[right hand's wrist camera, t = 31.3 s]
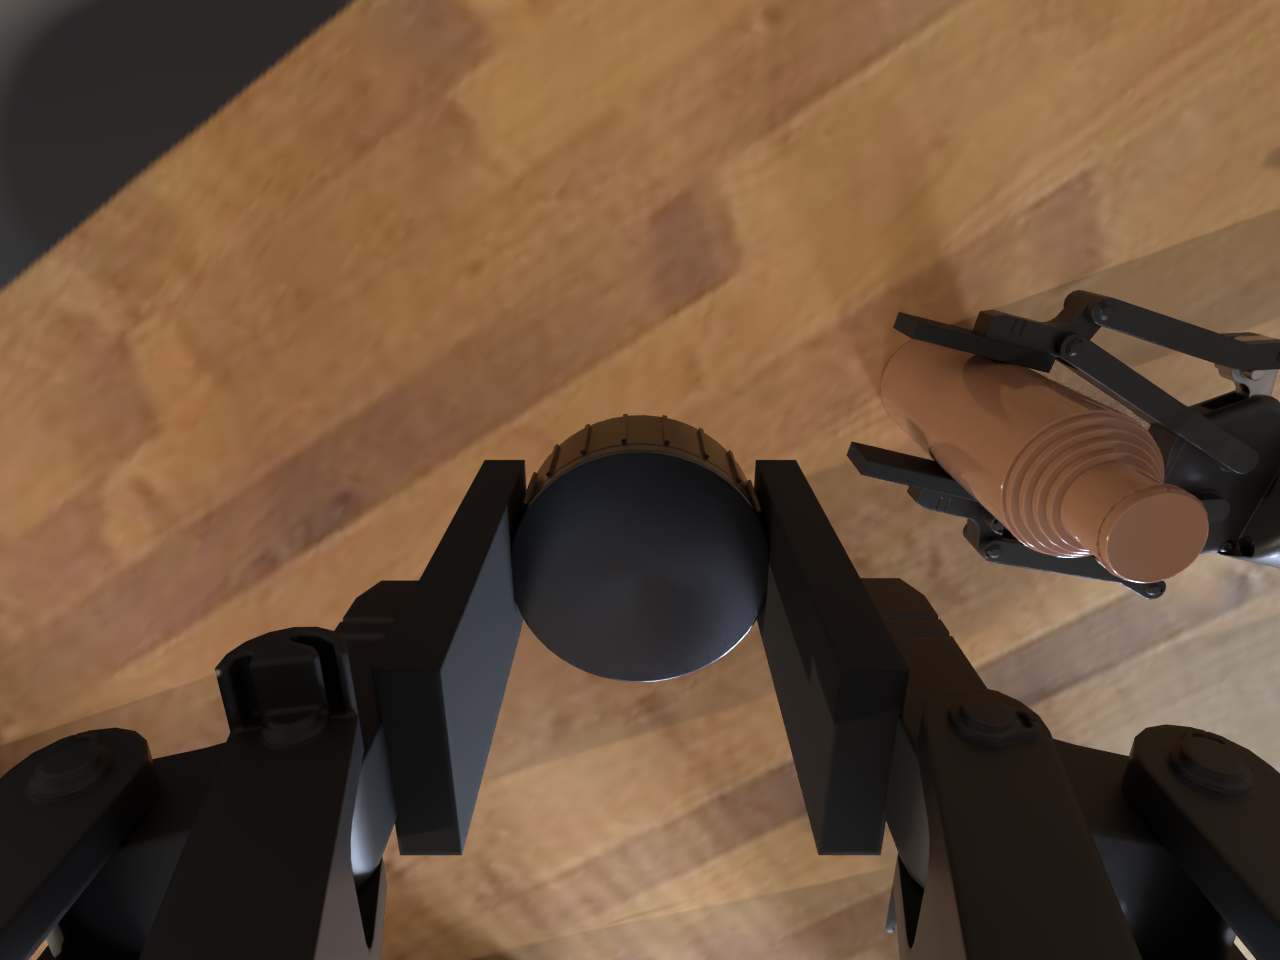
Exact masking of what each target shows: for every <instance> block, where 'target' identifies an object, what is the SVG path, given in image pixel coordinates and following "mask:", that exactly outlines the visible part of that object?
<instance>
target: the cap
mask: <svg viewBox="0 0 1280 960" xmlns="http://www.w3.org/2000/svg"><path fill="white" fill-rule="evenodd" d="M521 506H523V510H522V513H521V516H520V519H519V522H518V524H517V527H516V530H515V533H514V536H513V539H512V544H511V565H512V579H513V592H514V599H515V601H516V604H517V606H518V609H519V611H520V613H521V615H522V617H523V618H524V620H525V622H526V623H527V625H528V627H529V628H530V629H531V630H532V632H533V633H534V634H535V636H536V637H537V638H538V639H539V640H540V641H541V642H542V643H543V644H544V645H545V646H546V647H547V648H548V649H549V650H551V651H552V652H553V653H554V654H556V655H557V656H558V657H560V658H561V659H563V660H564V661H566V662H568V663H570V664H571V665H573V666H575V667H577V668H579V669H581V670H584V671H586V672H588V673H591V674H594V675H597V676H601V677H604V678H609V679H614V680H619V681H630V682H653V681H660V680H668V679H672V678H676V677H680V676H684V675H686V674H689V673H692V672H694V671H697V670H699V669H701V668H703V667H705V666H707V665H709V664H711V663H713V662H714V661H716V660H718V659H719V658H721V657H722V656H724V655H725V654H726V653H727V652H729V651H730V650H731V649H732V648H733V647H734V646H736V645H737V644H738V643H739V642H740V640H741V639H742V638H743V637H744V636H745V635H746V634H747V633H748V631H749V630H750V628H751V627H752V625H753V624H754V623H755V621H756V619H757V618H758V616H759V614H760V612H761V610H762V608H763V605H764V603H765V600H766V596H767V585H768V571H769V557H770V546H769V542H768V538H767V534H766V531H765V528H764V525H763V522H762V519H761V517H760V515H762V514H763V512H762V509H761V507H760V504H759V501H758V498H757V496H756V493H755V490H754V487H753V485H752V482H751V480H748V481H747V479H746V477H745V475H744V473H743V471H742V470H741V468H740V467H739V465H738V463H737V462H736V461H735V459H734V456H733V453H732V452H731V451H730V450H729V451H727V450H726V449H724V448H723V447H722V446H721V445H720V444H719V443H718V442H717V441H715V440H714V439H713V438H711V437H710V436H708V435H707V434H705V433H704V430H703V429H701V428H699V429H696V428H694V427H692V426H690V425H687V424H685V423H682V422H679V421H676V420H672V419H668V418H667V416H664V415H662V417H657V416H647V415H637V416H628V414H623V417H617V418H612V419H608V420H605V421H601V422H598V423H596V424H593V425H591V426H590V424H587V425H585V428H584V429H582V430H580V431H579V432H577V433H575V434H574V435H572V436H570V437H569V438H568V439H567V440H565V441H564V442H563V443H561V444H560V445H558V444H556V445H555V446H554V449H553V452H552V453H551V454H550V455H549V456H548V457H547V459H546V460H545V462H544V463H543V464H542V466H541V467H540V468H539V470H538V472H537V473H535V472H534V473H533V475H532V477H531V480H530V483H529V486H528V488H527V491H526V494H525V497H524V499H523V502H522V505H521Z"/></svg>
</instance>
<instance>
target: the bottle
mask: <svg viewBox="0 0 1280 960" xmlns="http://www.w3.org/2000/svg"><path fill="white" fill-rule="evenodd" d="M881 398H882V403H883V406H884V409H885V410H886V412H887V414H888V416H889V417H890V418H891V419H892V421H893V422H894V423H895V424H897V425H898V426H899V427H900V428H901V429H902V430H903V431H904V432H905V433H906V434H907V435H908V436H909V437H910V438H911V439H912V440H913V441H914V442H915V443H917V444H918V445H919V446H920V447H921V448H922V449H923V450H924V451H925V452H926V453H927V454H928V455H929V456H930V457H931V458H932V459H933V460H934V461H936V462H937V463H938V464H939V465H940V466H941V467H942V468H943V469H944V470H945V471H946V472H947V473H948V474H949V475H950V476H951V477H952V478H953V479H954V480H956V481H957V482H958V483H959V484H960V485H961V486H962V487H963V488H964V489H965V490H966V491H967V492H968V493H969V494H970V495H971V496H972V497H973V498H974V499H976V500H977V501H978V502H979V503H980V504H981V505H982V506H983V507H984V508H985V509H986V510H987V511H988V512H989V513H990V514H991V515H992V516H993V517H995V518H996V519H997V520H998V521H999V522H1000V523H1001V524H1002V525H1003V526H1004V527H1005V528H1006V529H1007V530H1008V531H1009V532H1010V533H1011V534H1012V535H1013V536H1015V537H1016V538H1017V539H1018V540H1019V541H1020V542H1021V543H1023V544H1024V545H1025V546H1027V547H1029V548H1031V549H1033V550H1035V551H1038V552H1040V553H1044V554H1048V555H1053V556H1057V557H1066V558H1075V557H1084V556H1090V555H1094V556H1095V557H1097V558H1096V559H1095V560H1096V561H1098V562H1099V563H1100V564H1101V565H1102V566H1103V567H1104V568H1106V569H1107V570H1108V571H1109V572H1110V573H1112V574H1113V575H1115V576H1117V577H1120V578H1122V579H1124V580H1129V581H1132V582H1137V583H1152V582H1158V581H1162V580H1165V579H1168V578H1170V577H1173V576H1175V575H1176V574H1178V573H1180V572H1182V571H1183V570H1184V569H1186V568H1187V567H1188V566H1189V565H1190V564H1191V563H1192V562H1193V561H1194V560H1195V559H1196V558H1197V557H1198V555H1199V554H1200V553H1201V551H1202V549H1203V547H1204V545H1205V543H1206V540H1207V537H1208V531H1209V523H1208V516H1207V515H1208V513H1207V511H1206V510H1205V508H1204V506H1203V503H1202V502H1200V501H1199V500H1198V499H1197V498H1196V497H1195V496H1194V495H1192V494H1190V493H1188V492H1186V491H1185V490H1183V489H1181V488H1179V487H1177V486H1175V485H1171V484H1167V483H1165V482H1164V463H1163V458H1162V455H1161V452H1160V450H1159V448H1158V446H1157V444H1156V442H1155V441H1154V439H1153V437H1152V436H1151V434H1150V433H1149V432H1148V431H1147V429H1146V428H1145V427H1144V426H1142V425H1141V424H1140V423H1139V422H1137V421H1136V420H1134V419H1132V418H1131V417H1129V416H1127V415H1125V414H1123V413H1120V412H1118V411H1116V410H1114V409H1112V408H1110V407H1108V406H1106V405H1104V404H1102V403H1100V402H1098V401H1096V400H1094V399H1092V398H1089V397H1087V396H1085V395H1083V394H1081V393H1079V392H1077V391H1075V390H1073V389H1071V388H1069V387H1067V386H1065V385H1063V384H1060V383H1058V382H1056V381H1054V380H1052V379H1050V378H1048V377H1046V376H1044V375H1042V374H1040V373H1038V372H1036V371H1034V370H1032V369H1029V368H1027V367H1023V366H1019V365H1015V364H1011V363H1007V362H1003V361H999V360H995V359H991V358H987V357H983V356H979V355H975V354H971V353H967V352H963V351H959V350H955V349H951V348H947V347H943V346H939V345H935V344H931V343H927V342H923V341H919V340H915V339H912V340H911V341H909V342H908V343H906V344H905V345H903V346H902V347H901V348H900V349H899V350H898V351H897V352H896V353H895V354H894V356H893V357H892V358H891V360H890V361H889V363H888V365H887V367H886V369H885V371H884V374H883V377H882V382H881Z"/></svg>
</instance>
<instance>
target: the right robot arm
mask: <svg viewBox="0 0 1280 960" xmlns="http://www.w3.org/2000/svg"><path fill="white" fill-rule="evenodd" d="M754 490H755V493H756V496H757V498H758V501H759V504H760V507H761V509H762V512H763V514H762V515H760V517H761V519H762V522H763V525H764V528H765V531H766V534H767V538H768V542H769V546H770V557H769V571H768V585H767V596H766V600H765V603H764V605H763V608H762V610H761V612H760V614H759V616H758V618H757V622H758V625H759V629H760V633H761V637H762V641H763V645H764V648H765V652H766V656H767V660H768V664H769V667H770V671H771V675H772V679H773V683H774V687H775V690H776V694H777V698H778V702H779V706H780V710H781V713H782V717H783V721H784V725H785V729H786V732H787V736H788V740H789V744H790V748H791V752H792V755H793V759H794V763H795V767H796V771H797V774H798V778H799V782H800V786H801V790H802V794H803V797H804V801H805V805H806V809H807V813H808V816H809V820H810V824H811V828H812V832H813V836H814V839H815V843H816V847H817V851H818V855H881V848H882V842H883V836H884V829H885V823H886V821H887V824H888V826H889V829H890V832H891V834H892V837H893V839H894V842H895V845H896V847H897V850H898V857H897V863H896V868H895V874H894V880H893V886H892V892H891V898H890V904H889V909H888V915H887V922H886V928H885V931H887V932H892V933H895V929H896V924H897V931H898V942H899V952H900V960H1247V959H1246V958H1245V956H1244V955H1243V954H1242V953H1241V951H1240V950H1239V949H1238V948H1237V946H1236V945H1235V944H1234V940H1235V937H1236V935H1237V936H1238V937H1239V939H1240V940H1241V941H1242V942H1243V944H1244V945H1245V946H1246V947H1247V949H1248V950H1249V951H1250V952H1251V954H1252V955H1253V956H1254V957H1255V959H1256V960H1280V773H1279V772H1277V771H1276V770H1275V769H1274V768H1273V767H1272V766H1270V765H1269V764H1268V763H1266V762H1265V761H1264V760H1262V759H1261V758H1259V757H1258V756H1257V755H1255V754H1254V753H1253V752H1251V751H1250V750H1248V749H1246V748H1244V747H1242V746H1240V745H1238V744H1236V743H1234V742H1232V741H1230V740H1228V739H1226V738H1224V737H1222V736H1219V735H1217V734H1214V733H1211V732H1206V731H1204V730H1200V729H1196V728H1192V727H1184V726H1175V725H1160V726H1155V727H1149V728H1146V729H1144V730H1143V731H1142V732H1141V733H1139V734H1138V735H1137V736H1136V737H1135V739H1134V742H1133V745H1132V749H1131V752H1130V755H1129V756H1125V755H1120V754H1116V753H1111V752H1106V751H1101V750H1097V749H1092V748H1087V747H1083V746H1078V745H1074V744H1070V743H1067V742H1063V741H1059V740H1056V739H1053V738H1052V736H1051V733H1050V731H1049V730H1048V728H1047V727H1046V725H1045V724H1044V722H1043V721H1042V719H1041V718H1040V717H1039V715H1037V714H1036V713H1035V712H1033V711H1032V710H1031V709H1029V708H1028V707H1027V706H1025V705H1024V704H1023V703H1022V702H1020V701H1018V700H1016V699H1013V698H1011V697H1009V696H1007V695H1005V694H1002V693H1000V692H998V691H994V690H990V689H987V687H986V686H985V684H984V683H983V682H982V680H981V679H980V677H979V676H978V674H977V673H976V671H975V670H974V668H973V667H972V665H971V664H970V662H969V661H968V659H967V658H966V656H965V655H964V653H963V652H962V650H961V649H960V647H959V646H958V644H957V643H956V642H955V640H954V639H953V637H952V636H949V631H948V630H947V628H946V627H945V625H944V624H943V622H942V621H941V619H938V615H937V613H936V612H935V610H934V609H933V607H932V606H931V605H930V603H929V602H928V600H927V599H926V597H925V596H924V595H923V594H921V593H920V592H919V591H917V590H916V589H914V588H913V587H911V586H910V585H908V584H907V583H906V582H904V581H903V580H901V579H900V578H860V577H859V575H858V573H857V572H856V570H855V568H854V566H853V564H852V562H851V561H850V559H849V557H848V555H847V553H846V551H845V550H844V548H843V546H842V544H841V542H840V540H839V539H838V537H837V535H836V533H835V531H834V529H833V527H832V526H831V524H830V522H829V520H828V518H827V516H826V515H825V513H824V511H823V509H822V507H821V505H820V504H819V502H818V500H817V498H816V496H815V494H814V493H813V491H812V489H811V487H810V485H809V483H808V482H807V480H806V478H805V476H804V474H803V472H802V471H801V469H800V467H799V465H798V463H797V461H796V460H756V466H755V482H754ZM525 494H526V474H525V460H484V462H483V464H482V466H481V468H480V470H479V472H478V473H477V475H476V477H475V479H474V481H473V483H472V484H471V486H470V488H469V490H468V492H467V494H466V495H465V497H464V499H463V501H462V503H461V505H460V506H459V508H458V510H457V512H456V514H455V516H454V517H453V519H452V521H451V523H450V525H449V527H448V528H447V530H446V532H445V534H444V536H443V538H442V539H441V541H440V543H439V545H438V547H437V549H436V550H435V552H434V554H433V556H432V558H431V560H430V561H429V563H428V565H427V567H426V569H425V571H424V573H423V574H422V576H421V578H420V580H419V581H380V582H379V583H377V584H376V585H374V586H373V587H372V588H370V589H369V590H367V591H366V592H364V593H363V594H361V595H360V596H359V597H357V598H356V599H355V601H354V602H353V604H352V605H351V607H350V608H349V610H348V611H347V613H346V614H345V616H344V617H343V622H340V623H339V625H338V626H337V628H336V629H335V631H331V630H328V629H324V628H320V627H292V628H287V629H283V630H278V631H273V632H269V633H266V634H264V635H261V636H259V637H256V638H254V639H251V640H249V641H246V642H244V643H243V644H241V645H240V646H238V647H237V648H235V649H234V650H232V651H231V652H229V653H228V654H226V656H225V657H224V658H223V659H222V660H221V662H220V663H219V664H218V665H217V667H216V668H215V672H216V676H217V680H218V684H219V688H220V692H221V696H222V700H223V704H224V708H225V712H226V716H227V720H228V724H229V728H230V735H229V737H228V739H227V742H225V743H222V744H218V745H215V746H211V747H208V748H203V749H199V750H194V751H189V752H185V753H180V754H175V755H171V756H166V757H161V758H156V759H152V757H151V753H150V750H149V747H148V743H147V740H146V739H144V738H143V737H142V736H141V735H139V734H138V733H137V732H136V731H132V730H126V729H120V728H108V729H99V730H90V731H87V732H83V733H78V734H77V735H71V736H69V737H66V738H63V739H60V740H58V741H56V742H54V743H52V744H50V745H48V746H46V747H44V748H42V749H40V750H38V751H36V752H34V753H32V754H31V755H30V756H28V757H27V758H26V759H24V760H23V761H21V762H20V763H19V764H17V765H16V766H15V767H13V768H12V769H11V770H9V771H8V772H7V773H6V774H5V775H4V776H3V777H2V778H1V779H0V960H29V959H30V957H31V956H32V955H33V954H34V952H35V951H36V950H37V949H38V947H39V946H40V945H41V944H42V942H43V941H44V940H45V939H46V940H47V943H48V946H47V947H46V949H45V950H44V951H43V953H42V954H41V955H40V956H39V958H38V959H37V960H380V954H381V944H382V933H383V923H384V913H385V902H386V892H387V881H386V875H385V868H384V863H383V857H382V855H383V852H384V850H385V847H386V845H387V842H388V839H389V837H390V834H391V831H392V829H393V826H394V823H395V826H396V833H397V839H398V845H399V851H400V855H462V853H463V849H464V845H465V841H466V837H467V834H468V830H469V826H470V822H471V818H472V814H473V811H474V807H475V803H476V799H477V795H478V792H479V788H480V784H481V780H482V776H483V772H484V769H485V765H486V761H487V757H488V753H489V750H490V746H491V742H492V738H493V734H494V730H495V727H496V723H497V719H498V715H499V711H500V708H501V704H502V700H503V696H504V692H505V688H506V685H507V681H508V677H509V673H510V669H511V665H512V662H513V658H514V654H515V650H516V646H517V643H518V639H519V635H520V631H521V627H522V623H523V620H524V618H523V617H522V615H521V613H520V611H519V609H518V606H517V604H516V601H515V599H514V592H513V579H512V565H511V544H512V539H513V536H514V533H515V530H516V527H517V524H518V522H519V519H520V516H521V513H522V510H523V506H521V505H522V502H523V499H524V497H525Z"/></svg>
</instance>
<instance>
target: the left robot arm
mask: <svg viewBox="0 0 1280 960" xmlns="http://www.w3.org/2000/svg"><path fill="white" fill-rule="evenodd" d="M1101 326H1103V327H1106V328H1109V329H1112V330H1115V331H1118V332H1121V333H1124V334H1127V335H1130V336H1133V337H1136V338H1139V339H1142V340H1145V341H1148V342H1151V343H1154V344H1157V345H1160V346H1163V347H1166V348H1169V349H1173V350H1176V351H1179V352H1182V353H1185V354H1188V355H1191V356H1194V357H1197V358H1200V359H1203V360H1206V361H1209V362H1213V363H1215V367H1216V368H1217V369H1218V371H1219V374H1220V376H1221V377H1223V378H1225V379H1228V380H1231V381H1233V382H1234V383H1235V386H1236V390H1235V391H1232V392H1229V393H1226V394H1223V395H1220V396H1218V397H1215V398H1212V399H1209V400H1206V401H1204V402H1201V403H1198V404H1195V405H1192V406H1190V407H1187V406H1185V405H1184V404H1182V403H1181V402H1179V401H1178V400H1176V399H1175V398H1173V397H1172V396H1170V395H1169V394H1167V393H1166V392H1164V391H1163V390H1162V389H1160V388H1159V387H1157V386H1156V385H1154V384H1153V383H1151V382H1150V381H1148V380H1147V379H1145V378H1144V377H1143V376H1141V375H1140V374H1138V373H1137V372H1135V371H1134V370H1132V369H1131V368H1129V367H1128V366H1126V365H1125V364H1124V363H1122V362H1121V361H1119V360H1118V359H1116V358H1115V357H1113V356H1112V355H1110V354H1109V353H1107V352H1106V351H1105V350H1103V349H1102V348H1100V347H1099V346H1097V345H1096V344H1094V343H1093V342H1091V341H1090V339H1091V338H1092V336H1093V335H1094V334H1095V333H1096V332H1097V331H1098V330H1099V329H1100V327H1101ZM893 328H895V329H896V330H898V331H900V332H902V333H903V334H905V335H907V336H908V337H910V338H912V339H915V340H919V341H923V342H927V343H931V344H935V345H939V346H943V347H947V348H951V349H955V350H959V351H963V352H967V353H971V354H975V355H979V356H983V357H987V358H991V359H995V360H999V361H1003V362H1007V363H1011V364H1015V365H1019V366H1023V367H1027V368H1031V369H1035V370H1039V371H1043V372H1047V373H1049V372H1050V370H1051V368H1052V366H1053V363H1054V361H1055V360H1057V361H1058V362H1060V363H1061V364H1063V365H1064V366H1066V367H1067V368H1069V369H1070V370H1072V371H1073V372H1075V373H1076V374H1078V375H1079V376H1081V377H1082V378H1084V379H1085V380H1087V381H1088V382H1090V383H1091V384H1093V385H1094V386H1096V387H1097V388H1099V389H1100V390H1102V391H1103V392H1105V393H1106V394H1108V395H1109V396H1111V397H1112V398H1114V399H1115V400H1117V401H1118V402H1120V403H1121V404H1123V405H1124V406H1126V407H1127V408H1129V409H1130V410H1131V411H1133V413H1134V414H1136V415H1137V416H1139V417H1140V418H1142V419H1143V420H1145V421H1146V422H1148V423H1149V424H1151V426H1150V428H1149V430H1148V432H1149V433H1150V434H1151V436H1152V437H1153V439H1154V441H1155V442H1156V444H1157V446H1158V448H1159V450H1160V452H1161V455H1162V458H1163V463H1164V482H1165V483H1167V484H1171V485H1175V486H1177V487H1179V488H1181V489H1183V490H1185V491H1186V492H1188V493H1190V494H1192V495H1194V496H1195V497H1196V498H1197V499H1198V500H1199V501H1200V502H1202V503H1203V506H1204V508H1205V510H1206V511H1207V513H1208V515H1207V516H1208V523H1209V531H1208V537H1207V540H1206V543H1205V545H1204V547H1203V549H1202V551H1201V553H1200V554H1204V553H1217V554H1221V555H1224V556H1228V557H1232V558H1236V559H1241V560H1245V561H1249V562H1254V563H1258V564H1262V565H1267V566H1271V567H1275V568H1280V402H1279V401H1278V400H1277V399H1275V398H1273V397H1271V393H1272V390H1273V386H1274V382H1275V378H1276V374H1277V371H1278V369H1280V339H1276V338H1272V337H1268V336H1263V335H1259V334H1255V333H1250V332H1244V333H1224V334H1219V333H1216V332H1213V331H1210V330H1207V329H1204V328H1201V327H1198V326H1195V325H1192V324H1189V323H1186V322H1183V321H1180V320H1177V319H1174V318H1171V317H1168V316H1165V315H1162V314H1159V313H1156V312H1153V311H1150V310H1147V309H1144V308H1141V307H1138V306H1135V305H1132V304H1129V303H1126V302H1123V301H1120V300H1117V299H1115V298H1111V297H1107V296H1103V295H1099V294H1095V293H1091V292H1087V291H1082V290H1077V291H1073V292H1072V293H1070V294H1069V295H1068V296H1067V297H1066V299H1065V301H1064V309H1063V310H1062V311H1061V312H1060V313H1059V315H1057V316H1056V317H1055V318H1054V319H1052V320H1050V321H1048V322H1038V321H1034V320H1030V319H1026V318H1022V317H1018V316H1014V315H1010V314H1006V313H1003V312H999V311H995V310H987V311H980V313H979V315H978V318H977V320H976V323H975V325H974V328H973V330H968V329H964V328H960V327H956V326H952V325H948V324H944V323H940V322H936V321H932V320H928V319H924V318H921V317H917V316H913V315H909V314H905V313H901V312H899V313H898V316H897V319H896V321H895V324H894V327H893ZM847 456H848V458H849V459H850V460H851V462H852V463H853V464H854V466H855V467H856V468H857V470H858V471H859V472H860V473H861V475H865V476H869V477H874V478H878V479H882V480H887V481H891V482H895V483H900V484H904V485H908V486H909V488H908V490H907V492H908V493H909V495H910V496H911V497H912V498H913V499H914V500H915V502H916V503H918V504H919V505H920V506H922V507H923V508H925V509H929V510H933V511H938V512H942V513H946V514H951V515H955V516H959V517H964V518H967V519H968V520H967V524H966V525H965V527H964V529H963V535H964V537H965V538H966V539H967V540H968V541H969V543H970V544H971V545H972V546H973V547H974V548H975V549H976V550H977V551H978V552H979V554H980V555H981V556H982V557H983V558H984V559H985V560H986V561H989V562H993V563H999V564H1005V565H1011V566H1017V567H1023V568H1029V569H1035V570H1041V571H1047V572H1054V573H1060V574H1066V575H1072V576H1078V577H1084V578H1090V579H1096V580H1102V581H1108V582H1114V583H1120V584H1122V585H1124V586H1126V587H1127V588H1129V589H1131V590H1132V591H1134V592H1136V593H1137V594H1139V595H1141V596H1142V597H1144V598H1146V599H1156V598H1158V597H1160V596H1161V595H1162V594H1163V593H1164V591H1165V589H1166V584H1165V582H1164V581H1163V580H1162V581H1158V582H1152V583H1137V582H1132V581H1129V580H1124V579H1122V578H1120V577H1117V576H1115V575H1113V574H1112V573H1110V572H1109V571H1108V570H1107V569H1106V568H1104V567H1103V566H1102V565H1101V564H1100V563H1099V562H1098V561H1096V560H1095V559H1096V558H1097V557H1095V556H1094V555H1090V556H1084V557H1075V558H1066V557H1057V556H1053V555H1048V554H1044V553H1040V552H1038V551H1035V550H1033V549H1031V548H1029V547H1027V546H1025V545H1024V544H1023V543H1021V542H1020V541H1019V540H1018V539H1017V538H1016V537H1015V536H1013V535H1012V534H1011V533H1010V532H1009V531H1008V530H1007V529H1006V528H1005V527H1004V526H1003V525H1002V524H1001V523H1000V522H999V521H998V520H997V519H996V518H995V517H993V516H992V515H991V514H990V513H989V512H988V511H987V510H986V509H985V508H984V507H983V506H982V505H981V504H980V503H979V502H978V501H977V500H976V499H974V498H973V497H972V496H971V495H970V494H969V493H968V492H967V491H966V490H965V489H964V488H963V487H962V486H961V485H960V484H959V483H958V482H957V481H956V480H954V479H953V478H952V477H951V476H950V475H949V474H948V473H947V472H946V471H945V470H944V469H943V468H942V467H941V466H940V465H939V464H938V463H937V462H936V461H932V460H928V459H924V458H920V457H915V456H911V455H907V454H903V453H898V452H894V451H890V450H886V449H881V448H877V447H873V446H869V445H864V444H860V443H856V442H851V445H850V448H849V450H848V453H847Z"/></svg>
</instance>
